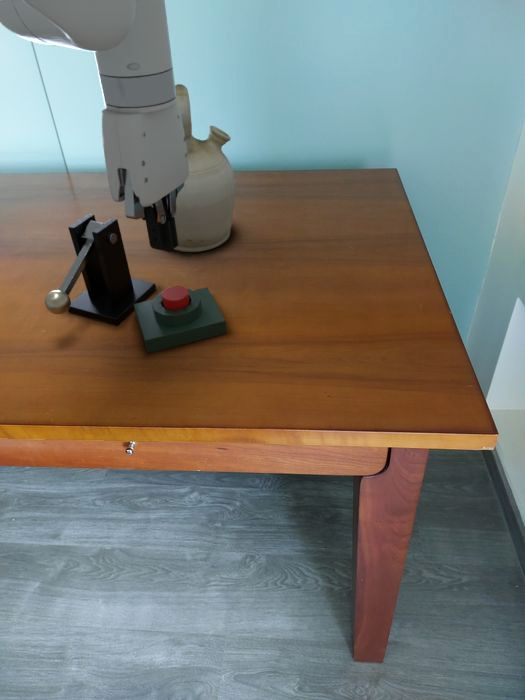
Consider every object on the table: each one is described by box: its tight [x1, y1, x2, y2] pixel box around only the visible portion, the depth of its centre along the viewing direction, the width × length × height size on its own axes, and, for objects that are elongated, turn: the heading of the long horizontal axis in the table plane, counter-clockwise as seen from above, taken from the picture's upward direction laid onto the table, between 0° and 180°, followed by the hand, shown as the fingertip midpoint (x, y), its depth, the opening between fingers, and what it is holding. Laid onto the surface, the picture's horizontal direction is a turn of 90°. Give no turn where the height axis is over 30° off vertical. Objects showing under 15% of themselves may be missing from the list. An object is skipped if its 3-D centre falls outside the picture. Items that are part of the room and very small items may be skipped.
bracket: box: [67, 213, 157, 326], centre depth 76 cm, size 10×9×13 cm
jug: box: [150, 83, 236, 253], centre depth 87 cm, size 15×16×25 cm
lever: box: [44, 221, 104, 315], centre depth 71 cm, size 14×3×3 cm, turn 155°
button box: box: [134, 287, 227, 354], centre depth 73 cm, size 11×9×4 cm
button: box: [161, 285, 190, 311], centre depth 72 cm, size 4×4×2 cm
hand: (164, 246), depth 66 cm, fingers closed
